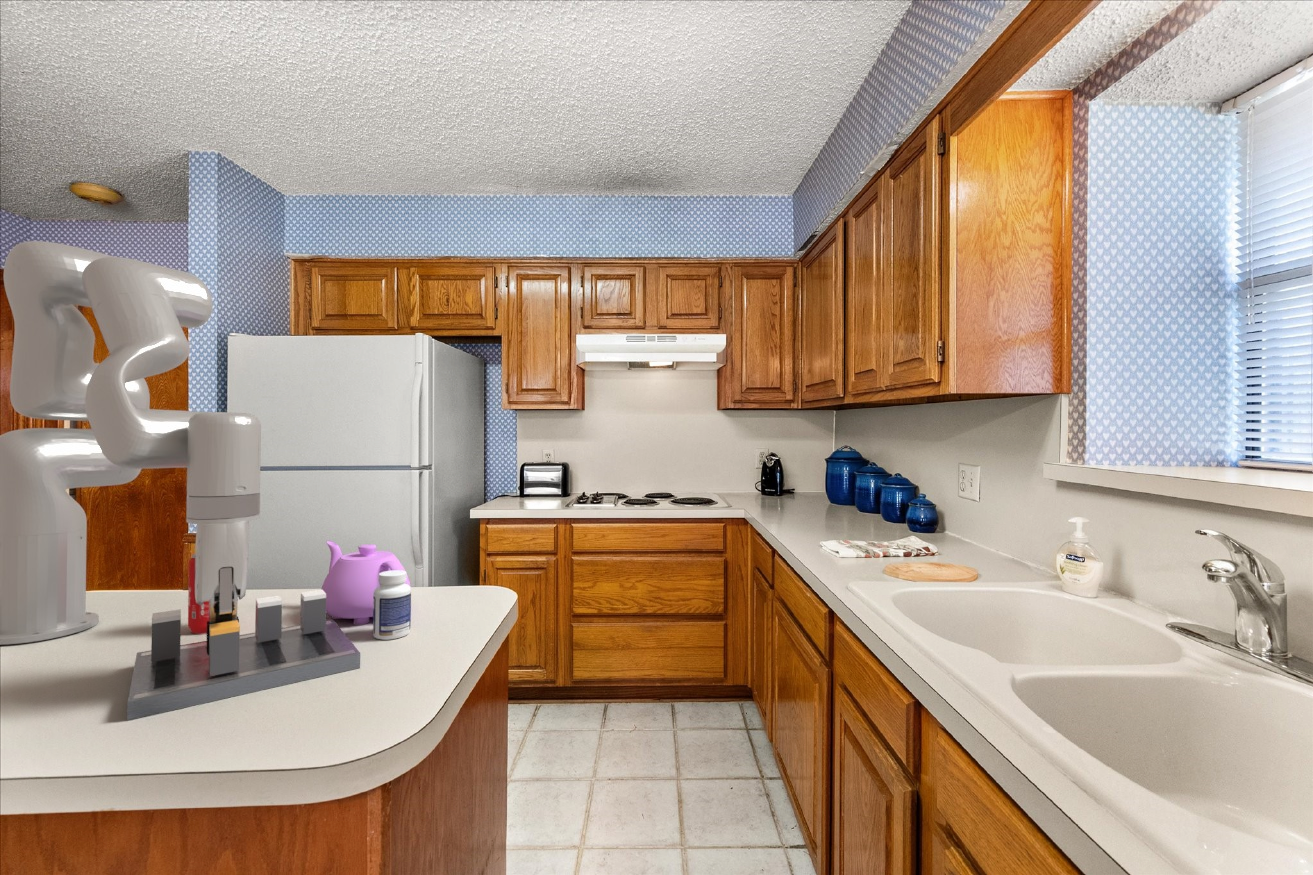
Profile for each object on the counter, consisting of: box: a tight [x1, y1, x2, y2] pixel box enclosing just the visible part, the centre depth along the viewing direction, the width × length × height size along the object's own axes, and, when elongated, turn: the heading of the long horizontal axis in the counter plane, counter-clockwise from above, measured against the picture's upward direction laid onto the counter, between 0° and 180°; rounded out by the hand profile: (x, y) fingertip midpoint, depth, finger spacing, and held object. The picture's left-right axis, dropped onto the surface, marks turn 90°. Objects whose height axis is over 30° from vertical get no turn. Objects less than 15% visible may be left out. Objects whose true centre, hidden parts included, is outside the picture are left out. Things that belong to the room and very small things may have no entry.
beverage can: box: [187, 553, 210, 635], centre depth 91 cm, size 5×5×12 cm
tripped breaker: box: [209, 620, 241, 676], centre depth 70 cm, size 3×3×5 cm
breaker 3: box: [299, 589, 327, 634], centre depth 84 cm, size 3×3×5 cm
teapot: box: [320, 540, 412, 626], centre depth 100 cm, size 20×14×12 cm
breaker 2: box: [254, 595, 283, 643], centre depth 81 cm, size 3×3×5 cm
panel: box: [126, 618, 361, 721], centre depth 76 cm, size 18×23×2 cm
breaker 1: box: [150, 609, 182, 662], centre depth 74 cm, size 3×3×5 cm
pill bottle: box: [372, 570, 412, 641], centre depth 90 cm, size 5×5×10 cm
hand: (222, 651), depth 73 cm, fingers closed
